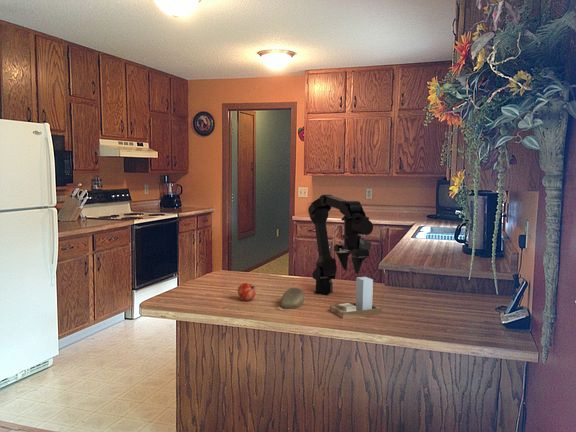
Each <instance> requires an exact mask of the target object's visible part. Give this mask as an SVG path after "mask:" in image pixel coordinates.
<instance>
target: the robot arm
mask: <svg viewBox="0 0 576 432" xmlns="http://www.w3.org/2000/svg"><path fill="white" fill-rule="evenodd" d="M332 208H334V209H337V210H339V213H340V214H342V215H343V216H342V218H341V219H340V220H341V221H343V223H344V224H343V227H344V228H343V234H342V235H341V237H342V238H343V243H336V244H335V245H334V246H333V252H335V254H336V255H337V258H338V260H339V262H340V265H341V267H342V268H343V270H344V271H346V270H347V269H348V264H349V263H348V261H349V257H351V261H352V266H353V270H354V273H355V274H356V275H359V273H360V270H361V267H362V264H363V262H364V260H366V259H367V258H368V257H371V256H370V255H371V247H372V244H373V243H372V242H370V241H367V240H365V239H364V238H363V237H362V236H361V235H365V236H369V235H371V233H372V232H373V231H374V225H373V223H372V221H371V220H369V219H370V217H369V216H367V214H366V212H365V211H364V208H363V205H362V204H361V202H360V201H359V200H346V199H342V198H340V197H337V196H334V195H332V194H321V195H320V196H319V197H318V198H317V199H315V200H314V201H312V202H311V203H310V205H309V206H308V208H307V209H308V210H307V211H308V215H309V219H310V220H311V222H312V223H313V224H314V230H315V231H314V232H315V237H316V243H317V244H316V245H317V251H318V259H317V261H316V263H315V264H316V265H315V266H316V267H315V269H314V271H312V273H311V274H312V279H313V280H315V291H314V292H313V294H318V295H330V294H331V293H333V292H334V291H333V290H334V287H333V281H332V280H335V278H336V276H337V270H338V267H337V260H336V258H335V257H334V258H333V257H332V256H331V251H330V244H329V236H328V230H327V220H328V218H329V212H330V211H331V210H332ZM350 255H352V256H350Z"/></svg>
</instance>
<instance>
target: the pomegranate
mask: <svg viewBox="0 0 576 432" xmlns="http://www.w3.org/2000/svg"><path fill="white" fill-rule="evenodd" d="M236 291H237V295H238V296H239V299H241V300H242V301H244V302H249V301H251V300H254V299H255V298H256V295H257V293H256V292H257V291H256V286H255V285H252V284H250V283H247V282H244V283H241V284H240V285H239V286H238V288H237V289H236Z"/></svg>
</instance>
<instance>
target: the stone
mask: <svg viewBox="0 0 576 432" xmlns="http://www.w3.org/2000/svg"><path fill="white" fill-rule="evenodd" d="M304 301H305V291H304V290H303V289H300V288H298V287H291V288H289V289H287V290H286V291H284V293H282V297H281V299H280V308H281V309H282V310H295V309H299V308H301V307H302V306H303V304H304Z"/></svg>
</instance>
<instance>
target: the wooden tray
mask: <svg viewBox="0 0 576 432" xmlns="http://www.w3.org/2000/svg"><path fill="white" fill-rule="evenodd" d="M349 304H352V305H354V306H356V302H351V303H349ZM338 306H339V304H335V305H334V304H333V305H329V312H331V313H333V314H334V315H336V316H338V317H339V318H341V319H342V320H344V319H352V318H353V319H354V318H362V317H369V316H378V315H382V312H383V311H382V308H381V307H379V306H377V305H375V304H373V303H372V309H367V310H358V311H349V312H343V311H342V310H340V309H338Z"/></svg>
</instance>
